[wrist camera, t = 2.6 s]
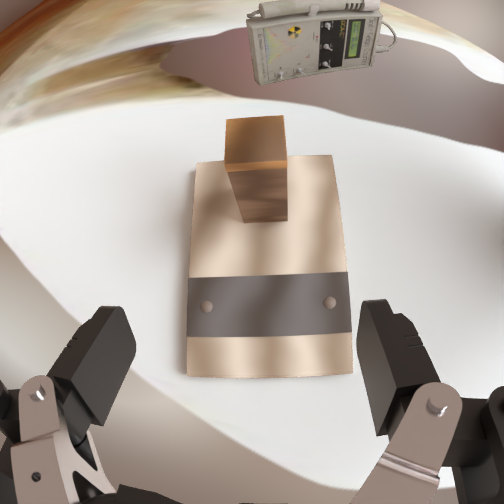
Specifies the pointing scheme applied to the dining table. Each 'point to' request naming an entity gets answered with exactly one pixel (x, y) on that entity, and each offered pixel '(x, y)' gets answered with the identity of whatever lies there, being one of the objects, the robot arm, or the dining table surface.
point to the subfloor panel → (269, 280)
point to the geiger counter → (313, 37)
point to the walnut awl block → (258, 167)
